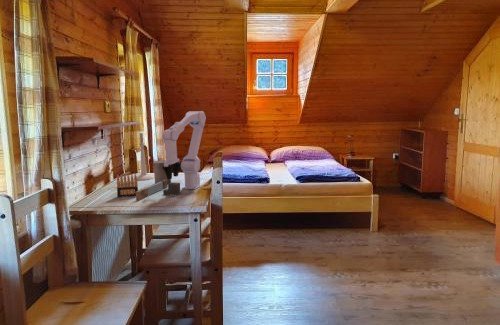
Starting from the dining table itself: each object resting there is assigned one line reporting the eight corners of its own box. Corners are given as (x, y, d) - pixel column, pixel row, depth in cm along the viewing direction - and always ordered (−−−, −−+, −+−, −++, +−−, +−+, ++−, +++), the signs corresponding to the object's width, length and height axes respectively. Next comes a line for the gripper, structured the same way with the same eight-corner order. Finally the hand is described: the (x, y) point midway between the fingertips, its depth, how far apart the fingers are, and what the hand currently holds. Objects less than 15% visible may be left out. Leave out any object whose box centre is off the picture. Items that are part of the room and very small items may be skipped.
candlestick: (136, 181, 239) (132, 133, 234) (132, 177, 250) (128, 132, 245) (156, 179, 245) (153, 132, 240) (151, 175, 256) (148, 131, 251)
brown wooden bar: (165, 187, 220) (164, 178, 219) (167, 187, 220) (166, 178, 219) (136, 200, 192) (135, 190, 191) (138, 200, 191) (138, 191, 190)
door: (161, 188, 216) (160, 181, 215) (162, 188, 215) (162, 181, 215) (146, 195, 201) (146, 187, 200) (148, 195, 200) (147, 187, 200)
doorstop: (180, 193, 204) (179, 182, 204) (177, 195, 201) (176, 184, 200) (167, 193, 207) (166, 182, 206) (163, 194, 203) (162, 183, 202)
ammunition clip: (117, 197, 199) (115, 175, 197) (117, 196, 201) (116, 174, 199) (138, 196, 201) (136, 173, 199) (138, 195, 203) (137, 173, 201)
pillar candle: (173, 181, 235) (171, 157, 232) (168, 185, 225) (166, 160, 223) (157, 182, 236) (156, 158, 233) (152, 185, 226) (150, 160, 224)
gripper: (170, 150, 208) (171, 174, 210) (157, 154, 194) (159, 180, 196) (182, 150, 206) (183, 175, 208) (170, 154, 192) (171, 180, 194)
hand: (172, 177), depth 202 cm, fingers open, 7 cm apart
